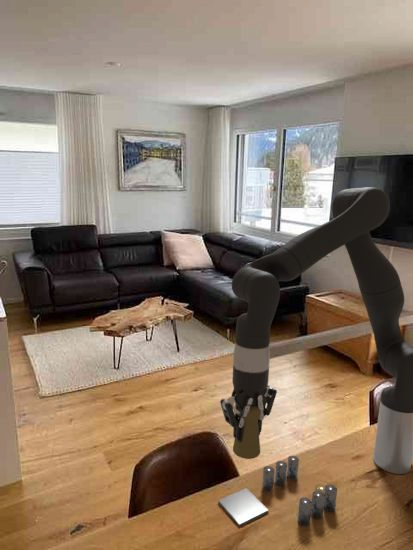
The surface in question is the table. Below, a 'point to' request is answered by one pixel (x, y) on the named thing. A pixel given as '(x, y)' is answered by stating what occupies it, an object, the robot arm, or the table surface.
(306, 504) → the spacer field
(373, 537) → the table surface
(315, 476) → the table surface
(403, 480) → the table surface
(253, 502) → the coaster
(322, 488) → the glossy gold bead
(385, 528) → the table surface
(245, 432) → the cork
